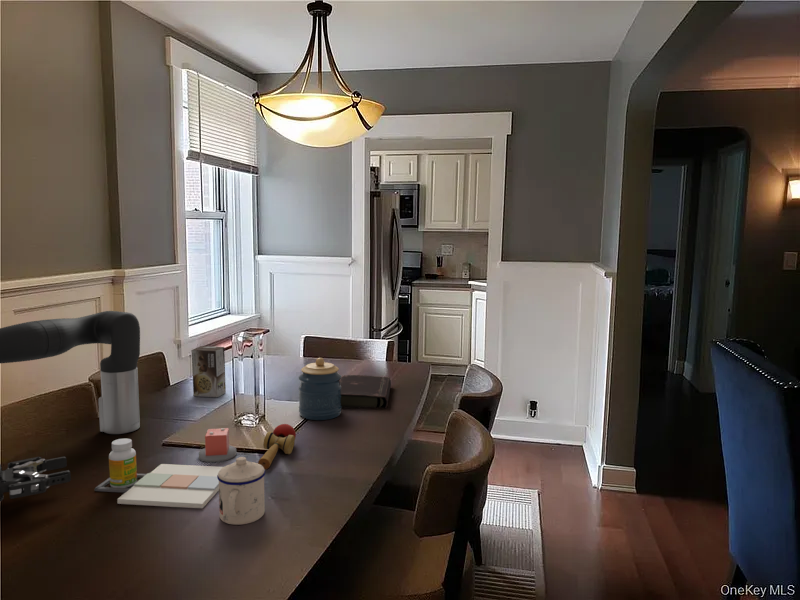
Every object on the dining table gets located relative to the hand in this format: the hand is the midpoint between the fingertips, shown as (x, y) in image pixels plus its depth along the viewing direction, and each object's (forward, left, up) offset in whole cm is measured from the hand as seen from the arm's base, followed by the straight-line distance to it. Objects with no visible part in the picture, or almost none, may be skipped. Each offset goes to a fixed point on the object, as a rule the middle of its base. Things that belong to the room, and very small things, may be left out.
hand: (68, 468), depth 121 cm
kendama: (+37, +26, -6) cm, 46 cm away
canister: (+40, +60, -6) cm, 72 cm away
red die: (+22, +25, -6) cm, 33 cm away
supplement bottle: (+8, +7, -6) cm, 12 cm away
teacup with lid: (+39, -5, -6) cm, 40 cm away
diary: (+50, +80, -7) cm, 94 cm away
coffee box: (-2, +76, -6) cm, 76 cm away
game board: (+17, +7, -6) cm, 19 cm away
